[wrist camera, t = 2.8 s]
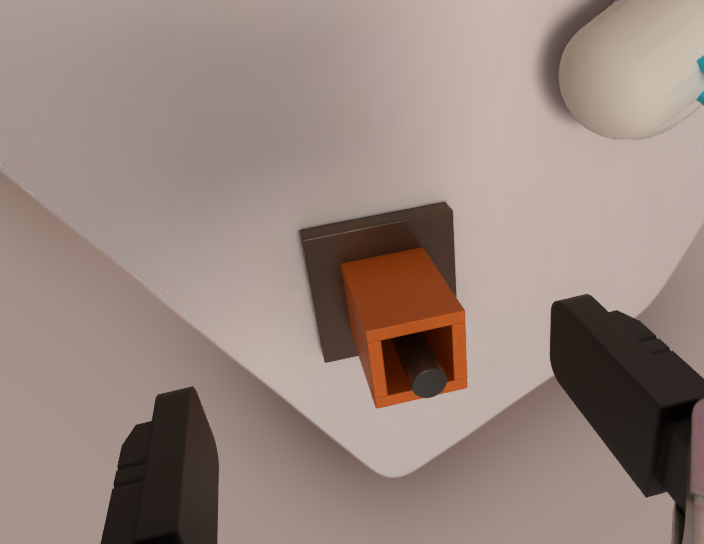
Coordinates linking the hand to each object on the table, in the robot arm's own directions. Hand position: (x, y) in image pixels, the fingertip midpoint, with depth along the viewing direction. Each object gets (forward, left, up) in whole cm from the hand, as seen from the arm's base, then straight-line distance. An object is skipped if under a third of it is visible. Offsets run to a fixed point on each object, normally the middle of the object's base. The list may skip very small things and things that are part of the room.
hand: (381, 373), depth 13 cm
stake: (+4, -13, -25) cm, 28 cm away
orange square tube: (+4, -13, -23) cm, 27 cm away
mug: (+22, -1, -25) cm, 34 cm away
